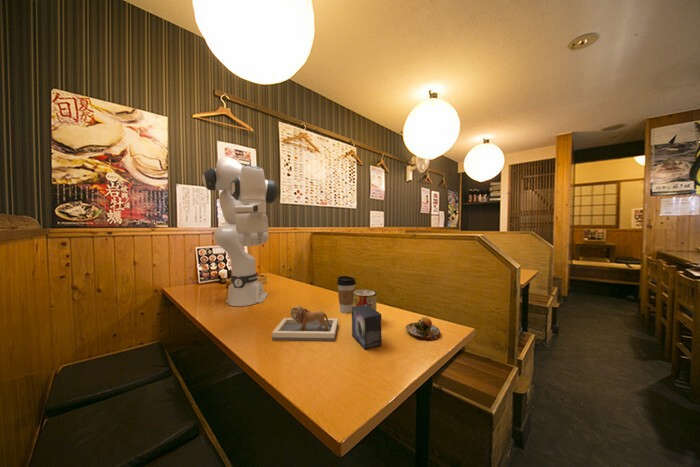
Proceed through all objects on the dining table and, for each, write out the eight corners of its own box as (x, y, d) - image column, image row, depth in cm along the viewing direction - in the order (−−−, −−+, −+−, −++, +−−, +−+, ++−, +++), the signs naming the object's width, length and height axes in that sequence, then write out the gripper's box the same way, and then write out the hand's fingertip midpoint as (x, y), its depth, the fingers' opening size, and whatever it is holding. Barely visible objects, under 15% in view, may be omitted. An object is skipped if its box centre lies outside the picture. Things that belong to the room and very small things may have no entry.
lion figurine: (290, 335, 84) (290, 309, 83) (291, 328, 89) (290, 304, 89) (333, 330, 87) (333, 305, 86) (331, 324, 92) (331, 301, 92)
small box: (350, 336, 85) (350, 306, 85) (367, 332, 88) (367, 303, 87) (364, 350, 75) (364, 316, 75) (382, 346, 78) (382, 313, 78)
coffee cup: (344, 306, 116) (344, 274, 115) (359, 310, 111) (359, 277, 110) (333, 311, 109) (333, 278, 108) (348, 315, 104) (348, 280, 103)
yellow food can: (350, 325, 94) (350, 294, 93) (357, 317, 102) (357, 288, 102) (373, 328, 91) (373, 296, 90) (378, 319, 99) (378, 290, 99)
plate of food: (409, 324, 95) (409, 305, 95) (441, 330, 90) (441, 310, 90) (402, 337, 84) (402, 316, 84) (438, 344, 79) (438, 322, 79)
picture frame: (284, 324, 95) (284, 317, 95) (337, 324, 94) (337, 318, 94) (272, 340, 82) (272, 332, 82) (334, 341, 81) (334, 333, 81)
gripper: (257, 210, 103) (257, 242, 104) (231, 206, 83) (232, 247, 83) (271, 210, 103) (272, 242, 103) (249, 206, 82) (250, 247, 83)
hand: (254, 245), depth 93 cm, fingers open, 8 cm apart
